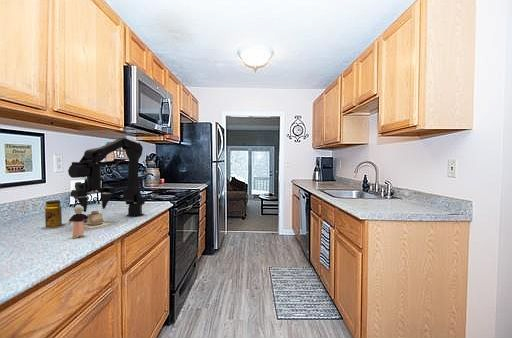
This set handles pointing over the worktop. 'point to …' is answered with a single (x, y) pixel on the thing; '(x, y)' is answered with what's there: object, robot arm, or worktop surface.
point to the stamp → (95, 218)
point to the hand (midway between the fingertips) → (94, 210)
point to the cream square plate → (98, 225)
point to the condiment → (53, 215)
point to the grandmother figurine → (78, 222)
